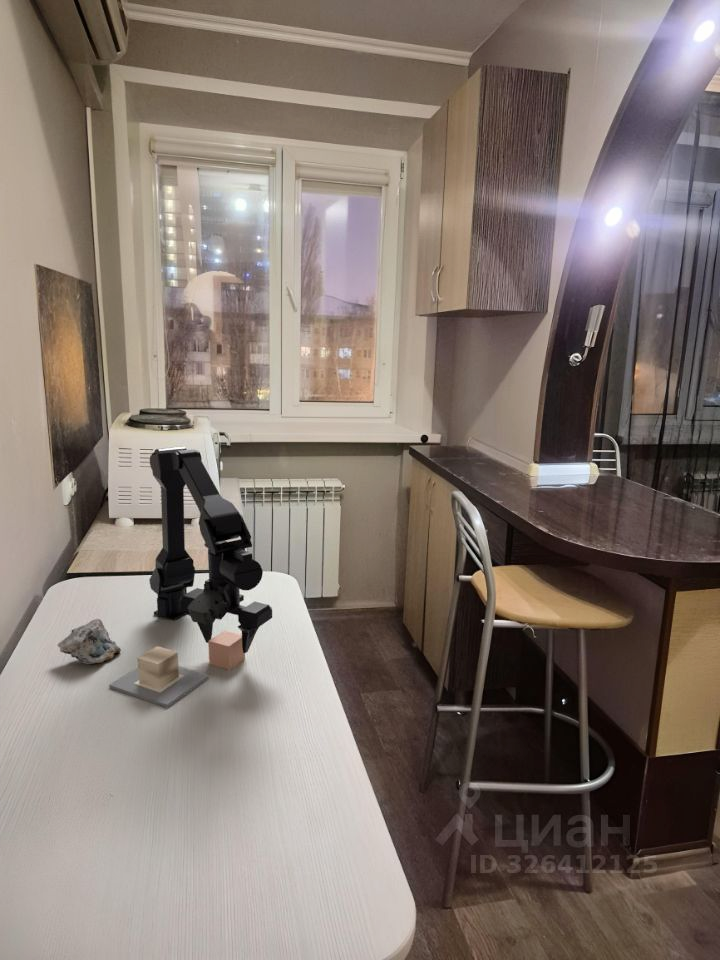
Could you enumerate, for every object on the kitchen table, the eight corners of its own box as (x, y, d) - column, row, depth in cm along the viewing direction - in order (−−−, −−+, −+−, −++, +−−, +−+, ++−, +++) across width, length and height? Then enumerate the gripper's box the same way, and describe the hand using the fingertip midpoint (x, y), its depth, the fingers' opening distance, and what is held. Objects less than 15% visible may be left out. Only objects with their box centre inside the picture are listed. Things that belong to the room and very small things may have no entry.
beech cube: (158, 669, 121) (157, 646, 120) (178, 676, 119) (177, 652, 118) (139, 682, 117) (137, 657, 116) (159, 689, 115) (158, 664, 113)
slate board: (152, 660, 126) (152, 657, 126) (208, 678, 120) (208, 674, 120) (109, 687, 116) (109, 684, 116) (167, 707, 110) (167, 704, 110)
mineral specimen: (100, 686, 126) (90, 652, 133) (131, 657, 126) (119, 626, 134) (62, 669, 119) (54, 634, 126) (94, 639, 120) (84, 606, 127)
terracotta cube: (225, 652, 130) (224, 630, 129) (245, 658, 128) (244, 635, 126) (209, 663, 125) (208, 640, 124) (229, 669, 123) (228, 646, 122)
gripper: (157, 578, 119) (162, 654, 123) (237, 597, 111) (240, 677, 115) (196, 560, 129) (200, 630, 132) (273, 576, 121) (274, 651, 124)
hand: (226, 647), depth 126 cm, fingers open, 9 cm apart
